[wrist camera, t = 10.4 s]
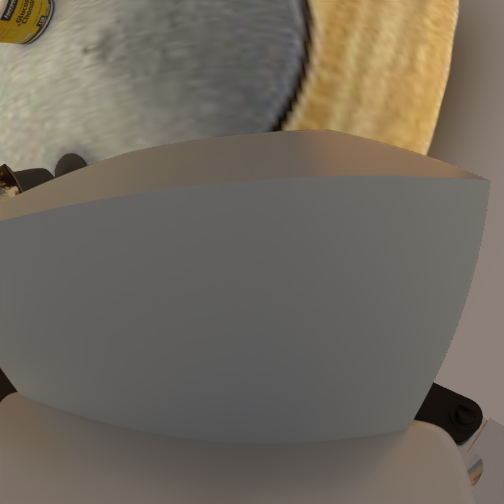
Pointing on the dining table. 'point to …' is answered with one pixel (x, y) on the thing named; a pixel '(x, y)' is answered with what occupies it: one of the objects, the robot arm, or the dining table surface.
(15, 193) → the sundae
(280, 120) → the dining table surface
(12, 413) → the robot arm
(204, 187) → the grey rectangular block
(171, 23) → the dining table surface
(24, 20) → the pill bottle
